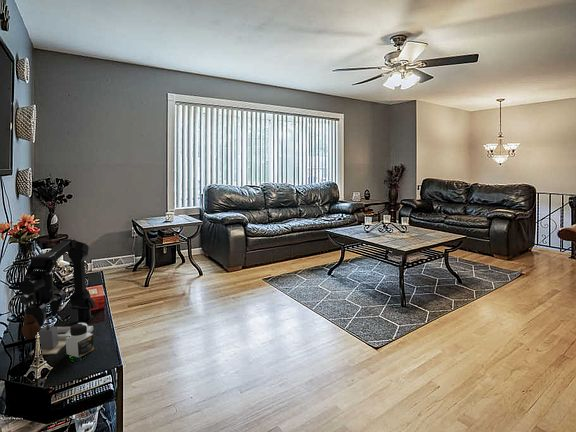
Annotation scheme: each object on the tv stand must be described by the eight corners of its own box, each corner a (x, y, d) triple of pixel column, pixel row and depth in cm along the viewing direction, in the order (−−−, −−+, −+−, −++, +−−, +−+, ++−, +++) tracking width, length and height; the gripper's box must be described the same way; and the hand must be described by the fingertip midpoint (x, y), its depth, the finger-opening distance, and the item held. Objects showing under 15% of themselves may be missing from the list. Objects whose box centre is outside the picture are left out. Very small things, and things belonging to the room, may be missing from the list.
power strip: (52, 331, 159) (52, 325, 158) (93, 329, 161) (93, 324, 160) (41, 340, 150) (40, 335, 149) (84, 339, 152) (84, 333, 152)
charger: (45, 344, 146) (44, 323, 144) (58, 344, 146) (56, 323, 145) (40, 349, 142) (38, 327, 140) (53, 348, 142) (51, 327, 141)
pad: (43, 342, 148) (43, 341, 148) (68, 341, 150) (68, 340, 150) (29, 355, 139) (29, 353, 139) (55, 353, 140) (55, 352, 140)
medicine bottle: (78, 358, 137) (76, 330, 136) (66, 354, 140) (64, 327, 138) (94, 349, 144) (92, 322, 142) (82, 346, 146) (80, 319, 145)
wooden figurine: (30, 342, 149) (27, 309, 146) (19, 340, 150) (16, 308, 148) (44, 334, 155) (41, 303, 153) (34, 333, 156) (31, 302, 154)
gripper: (37, 278, 149) (40, 312, 151) (8, 294, 130) (11, 332, 133) (64, 278, 150) (67, 311, 152) (39, 293, 132) (42, 331, 134)
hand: (47, 321), depth 143 cm, fingers open, 9 cm apart
